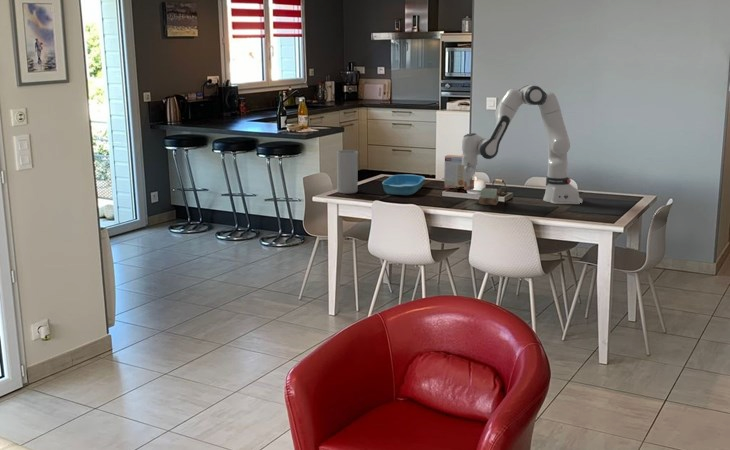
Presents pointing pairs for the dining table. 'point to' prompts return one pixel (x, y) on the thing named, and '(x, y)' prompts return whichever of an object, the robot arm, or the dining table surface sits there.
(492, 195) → the sage block
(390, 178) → the casserole dish
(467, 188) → the terracotta cube
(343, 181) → the cylinder vase
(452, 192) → the dining table surface
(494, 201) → the walnut block
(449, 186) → the cracker box
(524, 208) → the dining table surface
